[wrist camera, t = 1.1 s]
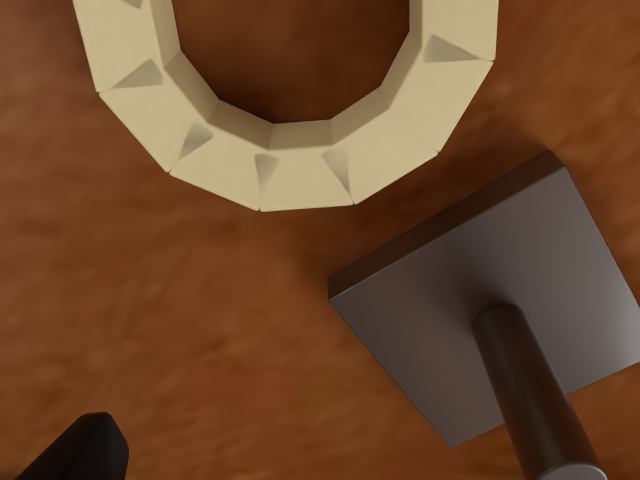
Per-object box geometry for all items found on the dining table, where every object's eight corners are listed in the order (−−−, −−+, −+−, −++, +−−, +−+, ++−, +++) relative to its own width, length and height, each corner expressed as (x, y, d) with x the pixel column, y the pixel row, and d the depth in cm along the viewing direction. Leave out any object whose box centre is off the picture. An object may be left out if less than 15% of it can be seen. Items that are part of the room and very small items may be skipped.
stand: (443, 422, 26) (493, 625, 19) (326, 278, 23) (331, 459, 15) (644, 326, 24) (792, 517, 16) (549, 148, 20) (684, 290, 13)
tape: (256, 233, 22) (250, 270, 20) (22, -45, 17) (-20, -38, 15) (539, 55, 19) (568, 75, 17) (343, -335, 14) (348, -378, 12)
